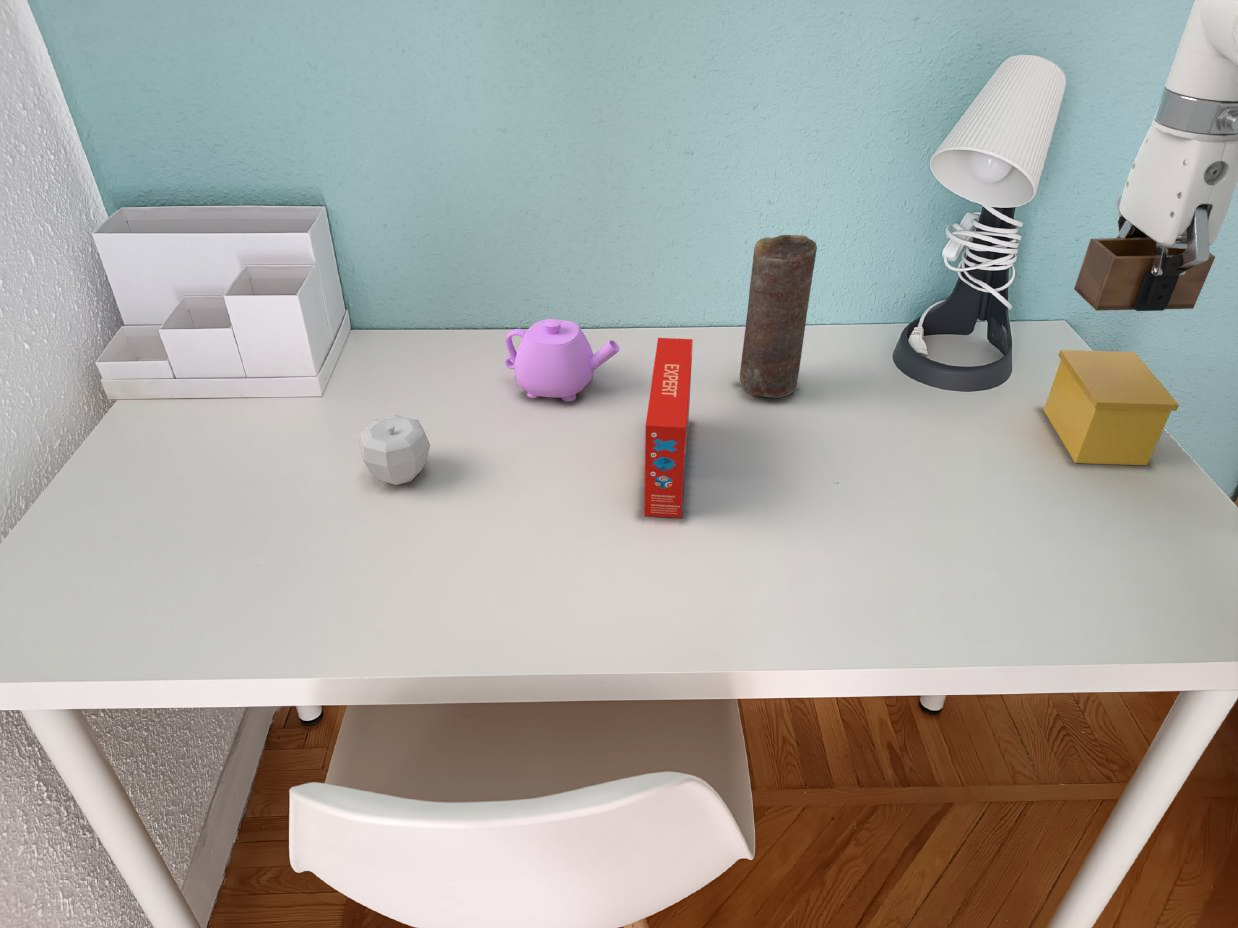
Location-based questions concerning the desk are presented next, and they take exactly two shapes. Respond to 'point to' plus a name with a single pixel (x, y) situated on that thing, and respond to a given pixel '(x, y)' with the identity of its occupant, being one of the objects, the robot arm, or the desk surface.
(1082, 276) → the wooden cubby shelf
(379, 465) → the apple
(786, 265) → the candle
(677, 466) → the toy box
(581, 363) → the teapot
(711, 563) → the desk surface
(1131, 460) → the box
